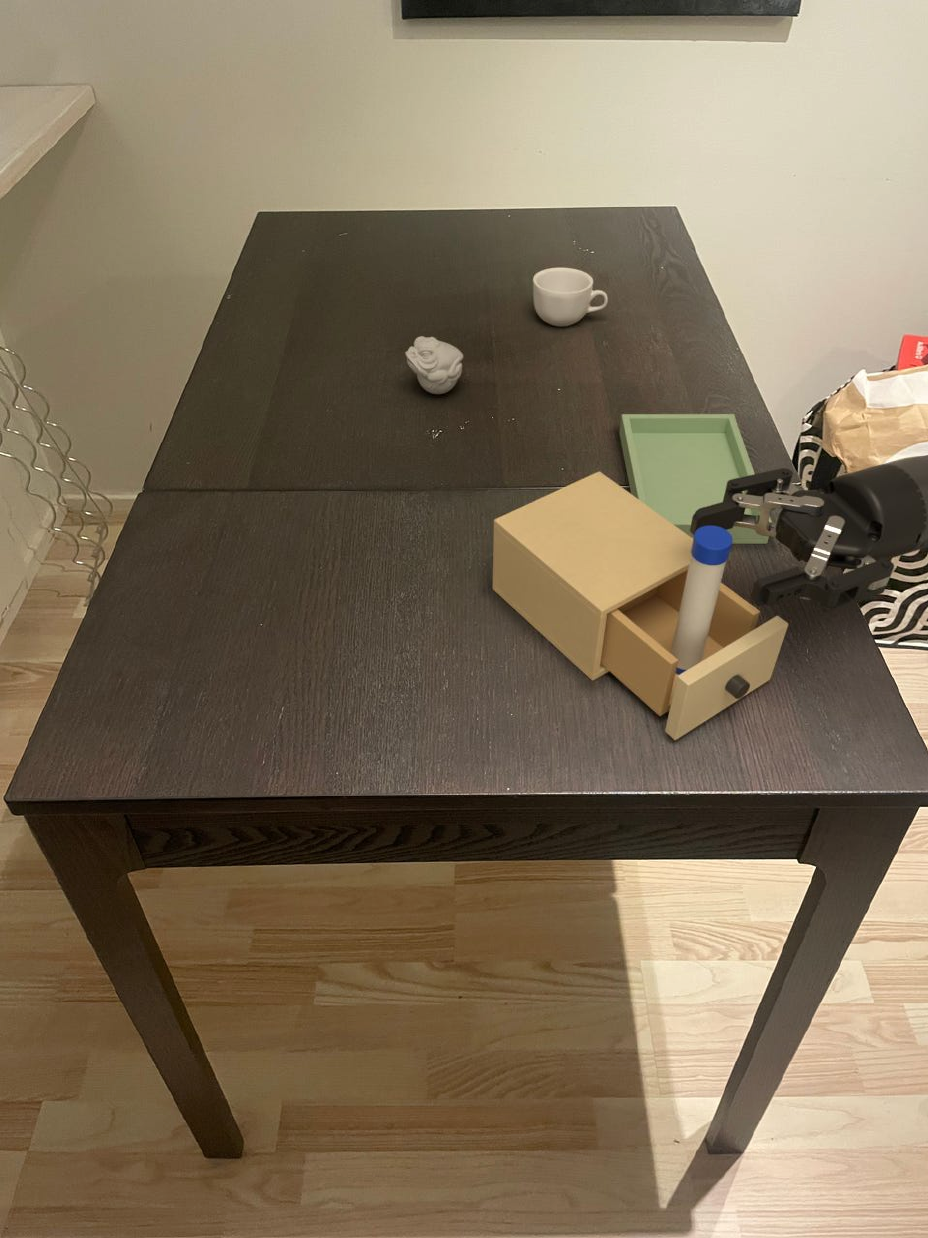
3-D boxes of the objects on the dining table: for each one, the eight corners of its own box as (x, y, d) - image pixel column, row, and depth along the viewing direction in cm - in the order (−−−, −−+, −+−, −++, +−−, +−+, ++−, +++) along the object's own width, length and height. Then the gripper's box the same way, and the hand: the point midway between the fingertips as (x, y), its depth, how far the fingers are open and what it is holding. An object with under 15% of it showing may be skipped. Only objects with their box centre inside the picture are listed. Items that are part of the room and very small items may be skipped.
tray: (767, 543, 95) (773, 524, 93) (640, 543, 95) (643, 524, 93) (729, 432, 109) (733, 413, 107) (619, 432, 109) (621, 413, 107)
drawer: (781, 688, 80) (800, 632, 75) (685, 750, 75) (700, 695, 71) (659, 592, 89) (670, 536, 84) (567, 643, 84) (572, 587, 79)
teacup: (525, 328, 126) (527, 289, 122) (537, 302, 132) (539, 264, 128) (600, 337, 124) (604, 298, 121) (609, 310, 130) (613, 272, 126)
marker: (705, 659, 81) (737, 531, 71) (694, 681, 79) (726, 553, 69) (673, 648, 82) (701, 521, 72) (662, 670, 80) (689, 542, 70)
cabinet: (695, 621, 87) (711, 551, 81) (592, 681, 82) (601, 611, 76) (591, 539, 95) (599, 470, 89) (492, 589, 90) (493, 519, 84)
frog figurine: (401, 383, 117) (398, 330, 112) (456, 374, 118) (455, 321, 113) (414, 409, 112) (412, 355, 108) (471, 399, 114) (471, 345, 109)
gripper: (850, 424, 79) (681, 467, 75) (975, 523, 70) (790, 580, 66) (826, 496, 85) (667, 541, 80) (940, 598, 75) (766, 655, 71)
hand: (723, 558), depth 73 cm, fingers open, 8 cm apart
